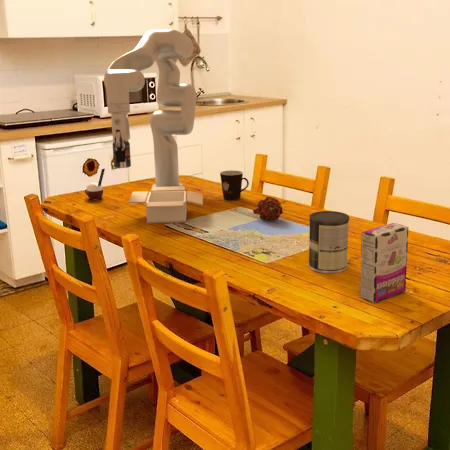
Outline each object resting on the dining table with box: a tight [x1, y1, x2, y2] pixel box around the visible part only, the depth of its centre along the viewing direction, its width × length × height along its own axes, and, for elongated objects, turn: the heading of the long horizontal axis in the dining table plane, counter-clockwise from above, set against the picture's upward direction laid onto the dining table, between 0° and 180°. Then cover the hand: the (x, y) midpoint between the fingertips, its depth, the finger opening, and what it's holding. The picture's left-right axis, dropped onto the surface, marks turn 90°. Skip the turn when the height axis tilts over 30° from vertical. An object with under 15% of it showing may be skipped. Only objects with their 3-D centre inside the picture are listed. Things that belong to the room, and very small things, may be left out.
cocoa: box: [84, 168, 105, 200], centre depth 245 cm, size 10×6×12 cm, turn 43°
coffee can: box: [308, 210, 350, 274], centre depth 168 cm, size 10×10×14 cm
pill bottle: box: [112, 140, 132, 169], centre depth 223 cm, size 6×6×11 cm
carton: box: [128, 185, 188, 224], centre depth 219 cm, size 28×19×7 cm
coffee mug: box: [219, 169, 250, 202], centre depth 241 cm, size 12×9×10 cm
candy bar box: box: [359, 222, 409, 304], centre depth 149 cm, size 11×5×16 cm, turn 126°
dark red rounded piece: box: [252, 196, 284, 222], centre depth 214 cm, size 8×8×12 cm
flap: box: [186, 190, 204, 207], centre depth 219 cm, size 15×1×6 cm
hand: (122, 159), depth 224 cm, fingers closed on pill bottle, 6 cm apart
